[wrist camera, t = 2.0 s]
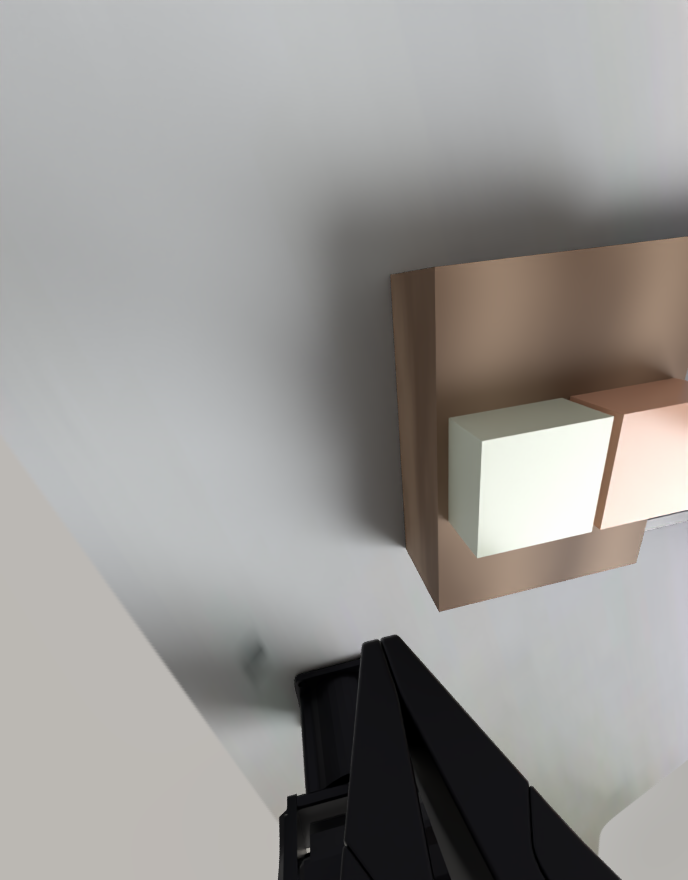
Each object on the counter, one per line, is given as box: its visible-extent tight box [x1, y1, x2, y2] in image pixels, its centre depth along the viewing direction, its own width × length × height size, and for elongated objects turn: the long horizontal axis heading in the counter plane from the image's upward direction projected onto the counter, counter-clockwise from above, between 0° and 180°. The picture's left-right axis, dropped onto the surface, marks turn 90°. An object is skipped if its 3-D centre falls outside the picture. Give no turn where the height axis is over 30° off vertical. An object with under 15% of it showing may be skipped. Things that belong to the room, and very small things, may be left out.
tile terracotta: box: [570, 378, 688, 530], centre depth 15 cm, size 5×5×2 cm
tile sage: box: [448, 398, 614, 558], centre depth 14 cm, size 5×5×2 cm
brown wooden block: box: [390, 236, 688, 612], centre depth 18 cm, size 12×16×5 cm
